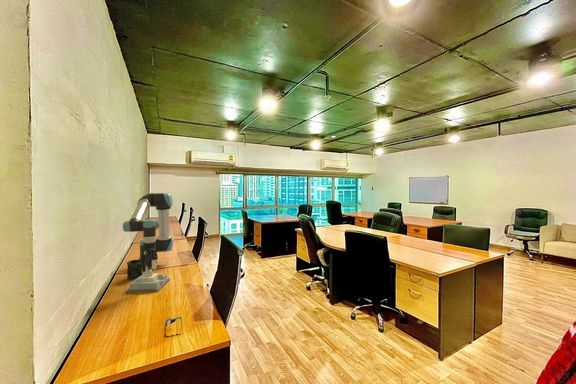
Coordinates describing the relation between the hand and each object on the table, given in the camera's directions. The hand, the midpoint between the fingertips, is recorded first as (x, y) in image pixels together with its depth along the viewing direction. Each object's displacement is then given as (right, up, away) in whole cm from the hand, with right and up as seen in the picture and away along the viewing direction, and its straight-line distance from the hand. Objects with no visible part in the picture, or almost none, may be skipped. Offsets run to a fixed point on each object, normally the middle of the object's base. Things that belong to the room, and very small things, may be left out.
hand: (149, 272), depth 165 cm
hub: (+3, -8, 0) cm, 9 cm away
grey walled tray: (0, -9, 0) cm, 9 cm away
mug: (-20, -9, +15) cm, 26 cm away
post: (0, -8, 0) cm, 8 cm away
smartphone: (+41, -11, -49) cm, 65 cm away
